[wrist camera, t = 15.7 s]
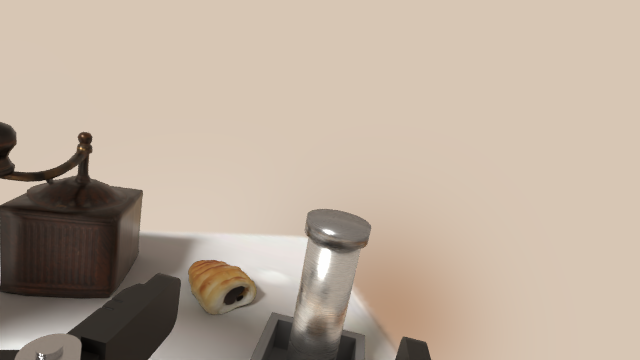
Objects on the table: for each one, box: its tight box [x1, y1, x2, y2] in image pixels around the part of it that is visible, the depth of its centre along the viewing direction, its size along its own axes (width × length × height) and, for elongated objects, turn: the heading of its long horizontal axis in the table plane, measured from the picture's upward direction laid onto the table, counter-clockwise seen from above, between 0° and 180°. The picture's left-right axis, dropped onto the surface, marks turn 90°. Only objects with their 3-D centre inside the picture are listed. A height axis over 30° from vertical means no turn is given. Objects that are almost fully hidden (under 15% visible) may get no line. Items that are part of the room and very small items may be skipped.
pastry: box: [188, 260, 256, 315], centre depth 42 cm, size 9×7×4 cm
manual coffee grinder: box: [0, 122, 143, 298], centre depth 36 cm, size 16×11×18 cm
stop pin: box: [286, 209, 371, 360], centre depth 28 cm, size 5×5×15 cm
